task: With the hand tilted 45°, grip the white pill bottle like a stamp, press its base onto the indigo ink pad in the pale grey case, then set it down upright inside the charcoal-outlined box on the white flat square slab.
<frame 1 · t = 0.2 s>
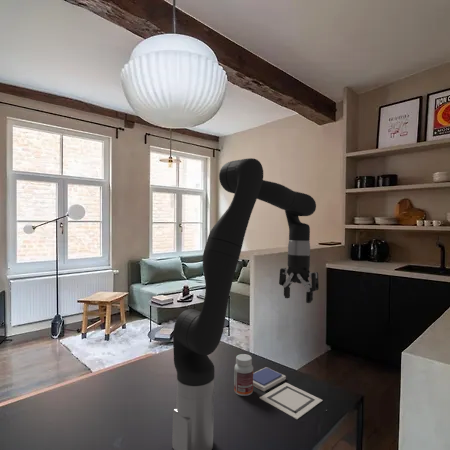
hand: (297, 300, 108), 29 cm above the table, tool pointing down, fingers open, 8 cm apart
white flat square slab: (290, 399, 98), on the table
ink pad: (265, 380, 109), on the table
pill bottle: (243, 392, 102), on the table
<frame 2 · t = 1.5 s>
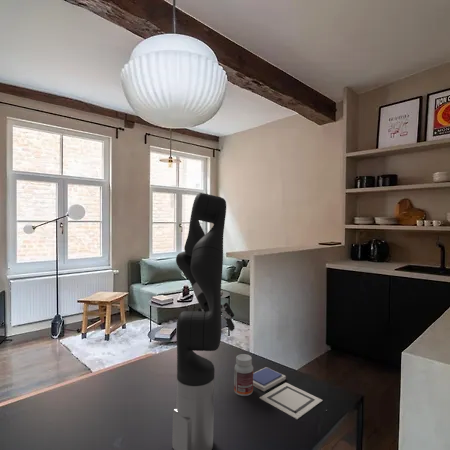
hand: (223, 332, 110), 16 cm above the table, tool tilted 45°, fingers open, 8 cm apart
nothing on the table moved.
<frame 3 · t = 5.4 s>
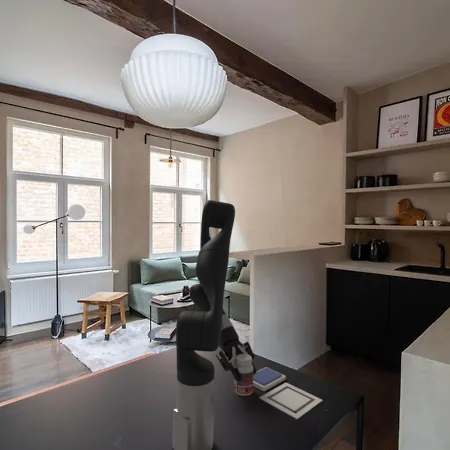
hand: (247, 377, 101), 5 cm above the table, tool tilted 45°, fingers closed on pill bottle, 6 cm apart
pill bottle: (243, 392, 102), on the table, touching gripper
when the fingers open (7 cm above the table, at t = 15.4 s): pill bottle drops 1 cm, resting on white flat square slab.
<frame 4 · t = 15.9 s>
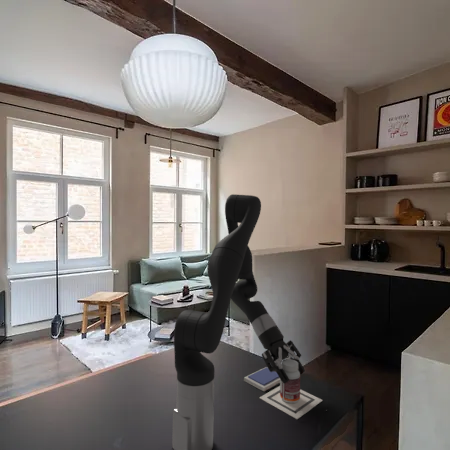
hand: (295, 377, 97), 7 cm above the table, tool tilted 45°, fingers open, 8 cm apart
pill bottle: (289, 399, 98), resting on white flat square slab
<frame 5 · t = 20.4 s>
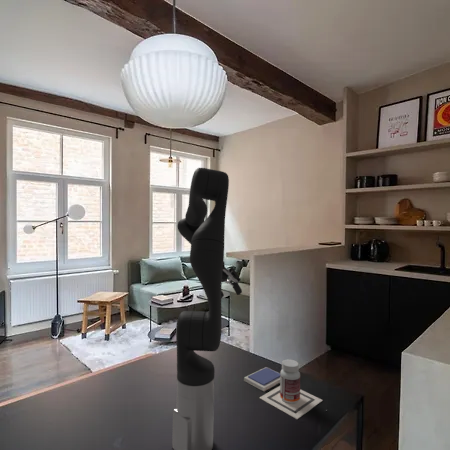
hand: (231, 295, 105), 31 cm above the table, tool tilted 45°, fingers open, 8 cm apart
nothing on the table moved.
at the end: pill bottle 0.4 cm off-centre on the white flat square slab, point 0.0 cm above the white flat square slab's base; pill bottle tilted 0°; the gripper is holding nothing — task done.
